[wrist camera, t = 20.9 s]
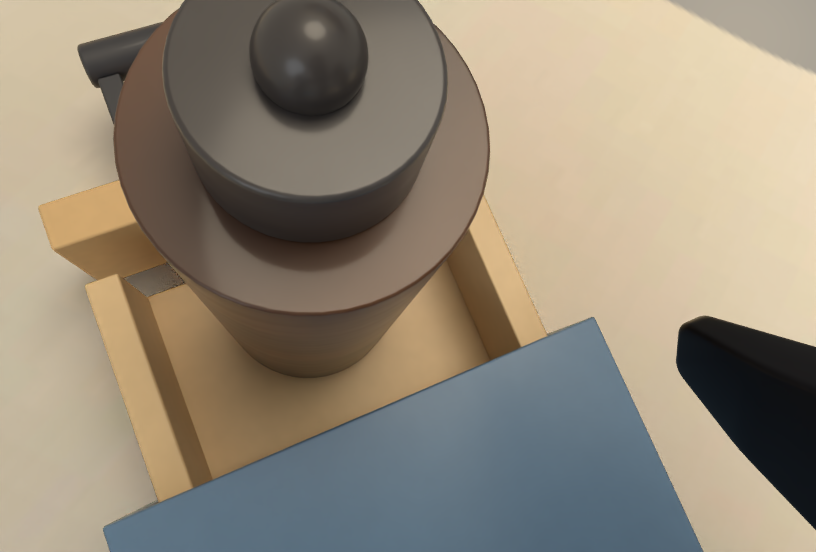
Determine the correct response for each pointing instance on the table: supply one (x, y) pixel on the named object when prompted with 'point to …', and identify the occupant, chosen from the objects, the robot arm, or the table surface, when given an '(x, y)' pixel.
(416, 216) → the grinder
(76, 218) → the drawer
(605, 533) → the cabinet
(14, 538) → the table surface
